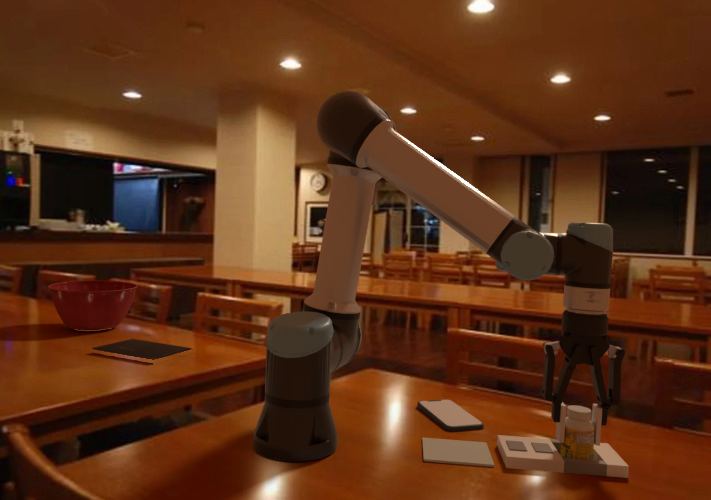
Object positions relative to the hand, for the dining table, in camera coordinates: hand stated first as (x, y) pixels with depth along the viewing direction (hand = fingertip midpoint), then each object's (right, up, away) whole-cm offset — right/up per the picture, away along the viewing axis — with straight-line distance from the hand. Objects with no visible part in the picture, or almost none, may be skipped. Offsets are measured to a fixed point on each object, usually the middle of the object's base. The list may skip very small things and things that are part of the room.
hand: (577, 440), depth 99 cm
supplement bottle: (0, -4, 0) cm, 4 cm away
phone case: (-19, -3, +21) cm, 29 cm away
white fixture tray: (-3, -4, 0) cm, 5 cm away
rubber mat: (-21, -3, +2) cm, 21 cm away
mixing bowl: (-131, +6, +98) cm, 164 cm away
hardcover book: (-101, +3, +65) cm, 121 cm away
